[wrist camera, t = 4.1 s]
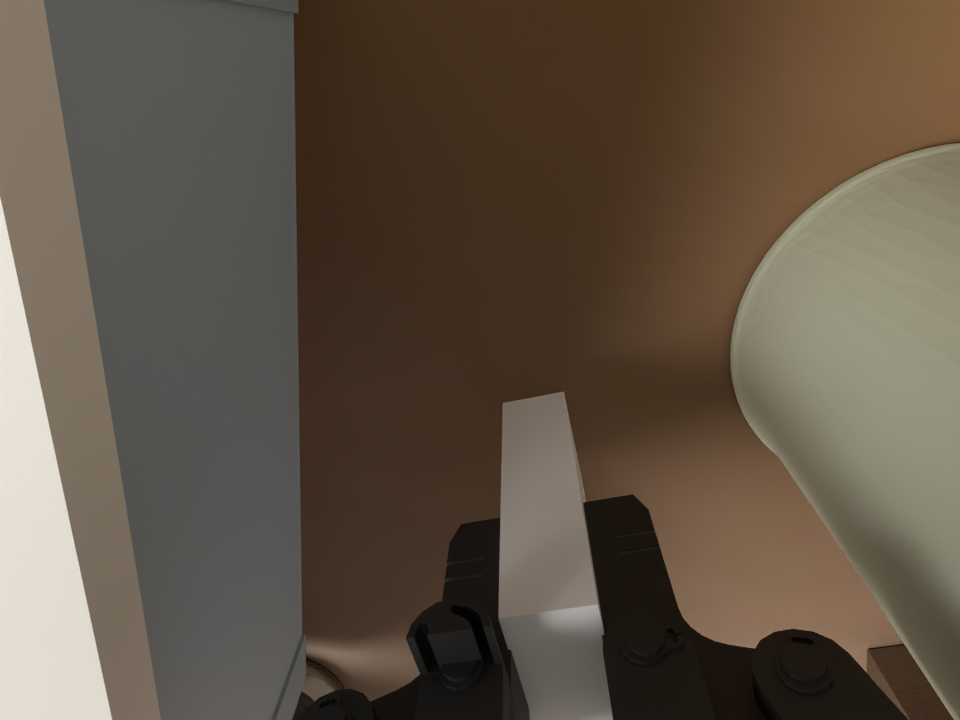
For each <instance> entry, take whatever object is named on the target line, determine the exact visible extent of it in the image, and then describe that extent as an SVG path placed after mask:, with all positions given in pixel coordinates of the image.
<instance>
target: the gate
mask: <svg viewBox="0 0 960 720" xmlns="http://www.w3.org/2000/svg"><path fill="white" fill-rule="evenodd" d="M294 13H298V14H299V9H298V0H0V720H292V718H293V715H294V712H295V709H296V706H297V703H298V700H299V697H300V694H301V691H302V688H303V684H304V681H305V678H306V634H302V573H301V502H300V432H299V361H298V290H297V220H296V149H295V79H294Z"/></svg>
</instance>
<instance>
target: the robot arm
mask: <svg viewBox="0 0 960 720" xmlns="http://www.w3.org/2000/svg"><path fill="white" fill-rule="evenodd" d="M447 565H448V567H447V568H446V576H445V581H446V583H445V584H444V592H443V601H441V602H438V603H435V604H434V605H432V606H431V607H429V608H428V609H426V610H424V611H423V612H422V613H421V614H420V615H419V616H418V617H417V618H416V620H415V621H414V622H413V623H412V624H411V627H410V629H409V632H408V634H407V637H406V639H407V642H408V644H409V647H410V649H411V652H412V654H413V657H414V659H415V662H416V664H417V667H418V669H419V672H420V675H419V676H418V677H417V678H415V679H414V680H413V681H412V682H411V683H409V684H407V685H405V686H404V687H402V688H400V689H398V690H396V691H394V692H391V693H389V694H387V695H385V696H382V697H380V698H378V699H376V700H373V701H371V702H370V701H369V700H368V699H367V697H366V696H365V695H364V694H363V693H361V692H358V691H355V690H352V689H345V690H335V691H333V692H331V693H328V694H326V695H324V696H322V697H319V698H318V699H317V700H316V701H314V702H313V703H312V704H311V705H310V706H308V707H307V708H306V709H305V710H304V711H303V713H302V714H301V715H300V717H299V718H298V720H908V719H907V717H906V716H905V715H904V714H903V713H902V712H901V711H900V710H899V709H898V707H897V706H896V705H895V704H894V703H893V702H892V701H891V700H890V699H889V697H888V696H887V695H886V694H885V693H884V692H883V691H882V690H881V689H880V687H879V686H878V685H877V684H876V683H875V682H874V681H873V680H872V679H871V677H870V676H869V675H868V674H867V673H866V672H865V671H864V670H863V669H862V667H861V666H860V665H859V664H858V663H857V662H856V661H855V660H854V659H853V657H852V656H851V655H850V654H849V653H848V652H847V651H845V650H844V649H843V648H842V647H840V646H839V645H838V644H837V643H836V642H834V641H833V640H831V639H829V638H826V637H824V636H822V635H819V634H817V633H815V632H811V631H804V630H797V629H790V630H783V631H777V632H774V633H772V634H770V635H769V636H767V637H765V638H764V639H762V640H760V642H759V643H758V645H757V647H756V648H755V649H753V648H746V647H739V646H733V645H727V644H723V643H719V642H715V641H713V640H711V639H709V638H706V637H704V636H702V635H701V634H699V633H698V632H696V631H695V630H694V629H692V628H691V627H690V626H689V625H688V623H687V622H686V621H685V620H684V619H683V617H682V615H681V613H680V611H679V609H678V606H677V602H676V599H675V596H674V592H673V589H672V586H671V583H670V579H669V576H668V573H667V569H666V566H665V563H664V560H663V556H662V553H661V550H660V547H659V543H658V540H657V536H656V533H655V530H654V527H653V523H652V520H651V517H650V513H649V510H648V509H647V508H646V507H645V506H644V505H643V504H642V503H641V502H640V501H639V500H638V499H637V498H636V497H635V496H634V495H627V496H620V497H614V498H608V499H602V500H596V501H590V502H586V498H585V492H584V487H583V481H582V476H581V472H580V467H579V462H578V457H577V452H576V448H575V443H574V438H573V433H572V428H571V424H570V419H569V414H568V409H567V404H566V399H565V395H564V392H559V393H553V394H548V395H543V396H537V397H532V398H527V399H521V400H516V401H511V402H505V403H503V414H502V463H501V513H500V518H496V519H490V520H484V521H477V522H471V523H465V524H461V526H460V527H459V529H458V530H457V532H456V534H455V535H454V537H453V538H452V540H451V542H450V544H449V552H448V560H447Z"/></svg>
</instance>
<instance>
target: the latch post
mask: <svg viewBox="0 0 960 720" xmlns="http://www.w3.org/2000/svg"><path fill="white" fill-rule="evenodd" d="M867 674H868V675H869V676H870V677H871V679H872V680H873V681H874V682H875V683H876V684H877V685H878V686H879V687H880V689H881V690H882V691H883V692H884V693H885V694H886V695H887V696H888V697H889V699H890V700H891V701H892V702H893V703H894V704H895V705H896V706H897V707H898V709H899V710H900V711H901V712H902V713H903V714H904V715H905V716H906V717H907V719H908V720H954V719H953V717H952V716H951V714H950V713H949V711H948V710H947V708H946V707H945V705H944V704H943V702H942V701H941V699H940V698H939V696H938V695H937V693H936V692H935V690H934V689H933V687H932V686H931V684H930V682H929V681H928V679H927V678H926V676H925V675H924V673H923V672H922V670H921V669H920V667H919V666H918V664H917V663H916V661H915V660H914V658H913V657H912V655H911V654H910V652H909V651H908V649H907V648H906V646H905V645H901V646H893V647H885V648H877V649H869V650H868V659H867Z"/></svg>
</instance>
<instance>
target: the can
mask: <svg viewBox="0 0 960 720" xmlns="http://www.w3.org/2000/svg"><path fill="white" fill-rule="evenodd" d="M730 366H731V376H732V382H733V387H734V391H735V395H736V398H737V401H738V403H739V406H740V408H741V411H742V413H743V415H744V417H745V419H746V420H747V422H748V424H749V425H750V427H751V428H752V429H753V431H754V432H755V434H756V435H757V436H758V437H759V439H760V440H761V441H762V442H763V443H764V444H765V445H766V446H767V447H768V448H769V449H770V450H771V451H772V452H774V453H775V454H776V455H777V456H778V457H779V459H780V460H781V462H782V463H783V465H784V466H785V467H786V469H787V470H788V472H789V473H790V475H791V476H792V477H793V479H794V480H795V482H796V483H797V485H798V486H799V487H800V489H801V490H802V492H803V493H804V495H805V496H806V497H807V499H808V500H809V502H810V503H811V505H812V506H813V508H814V509H815V511H816V512H817V514H818V515H819V517H820V518H821V520H822V521H823V523H824V524H825V526H826V527H827V528H828V530H829V531H830V533H831V534H832V536H833V537H834V539H835V540H836V542H837V543H838V545H839V546H840V548H841V549H842V551H843V552H844V554H845V555H846V557H847V558H848V560H849V561H850V563H851V564H852V566H853V567H854V569H855V570H856V572H857V573H858V575H859V576H860V578H861V579H862V581H863V582H864V584H865V585H866V587H867V588H868V590H869V591H870V593H871V594H872V596H873V597H874V599H875V600H876V602H877V603H878V605H879V606H880V608H881V609H882V611H883V613H884V614H885V616H886V617H887V619H888V620H889V622H890V623H891V625H892V626H893V628H894V629H895V631H896V632H897V634H898V635H899V637H900V638H901V640H902V641H903V643H904V644H905V646H906V648H907V649H908V651H909V652H910V654H911V655H912V657H913V658H914V660H915V661H916V663H917V664H918V666H919V667H920V669H921V670H922V672H923V673H924V675H925V676H926V678H927V679H928V681H929V682H930V684H931V686H932V687H933V689H934V690H935V692H936V693H937V695H938V696H939V698H940V699H941V701H942V702H943V704H944V705H945V707H946V708H947V710H948V711H949V713H950V714H951V716H952V717H953V719H954V720H960V143H955V144H946V145H941V146H935V147H930V148H926V149H922V150H918V151H915V152H911V153H907V154H904V155H901V156H898V157H895V158H893V159H890V160H887V161H884V162H882V163H880V164H878V165H876V166H874V167H872V168H870V169H867V170H865V171H863V172H861V173H859V174H857V175H856V176H854V177H852V178H850V179H849V180H847V181H845V182H843V183H842V184H840V185H838V186H837V187H836V188H834V189H833V190H831V191H830V192H829V193H827V194H826V195H825V196H823V197H822V198H820V199H819V200H818V201H816V202H815V203H814V204H812V205H811V206H810V207H809V208H808V209H807V210H806V211H804V212H803V213H802V214H801V215H800V216H799V217H798V218H797V219H796V220H795V221H794V222H793V223H792V224H791V225H790V226H789V227H788V228H787V229H786V230H785V231H784V233H783V234H782V235H781V236H780V237H779V238H778V240H777V241H776V242H775V243H774V244H773V246H772V247H771V248H770V249H769V251H768V252H767V253H766V255H765V256H764V258H763V260H762V261H761V263H760V264H759V266H758V267H757V269H756V271H755V272H754V274H753V276H752V278H751V280H750V282H749V284H748V286H747V288H746V290H745V293H744V295H743V297H742V300H741V302H740V305H739V308H738V311H737V314H736V318H735V322H734V327H733V332H732V338H731V349H730Z"/></svg>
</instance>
